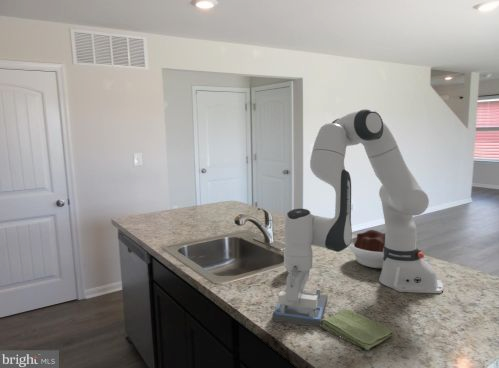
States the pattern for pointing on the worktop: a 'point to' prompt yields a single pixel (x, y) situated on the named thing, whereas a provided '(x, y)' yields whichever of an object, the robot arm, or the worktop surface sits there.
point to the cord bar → (305, 300)
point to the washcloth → (356, 328)
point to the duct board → (302, 312)
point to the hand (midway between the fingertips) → (298, 302)
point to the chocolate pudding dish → (368, 248)
